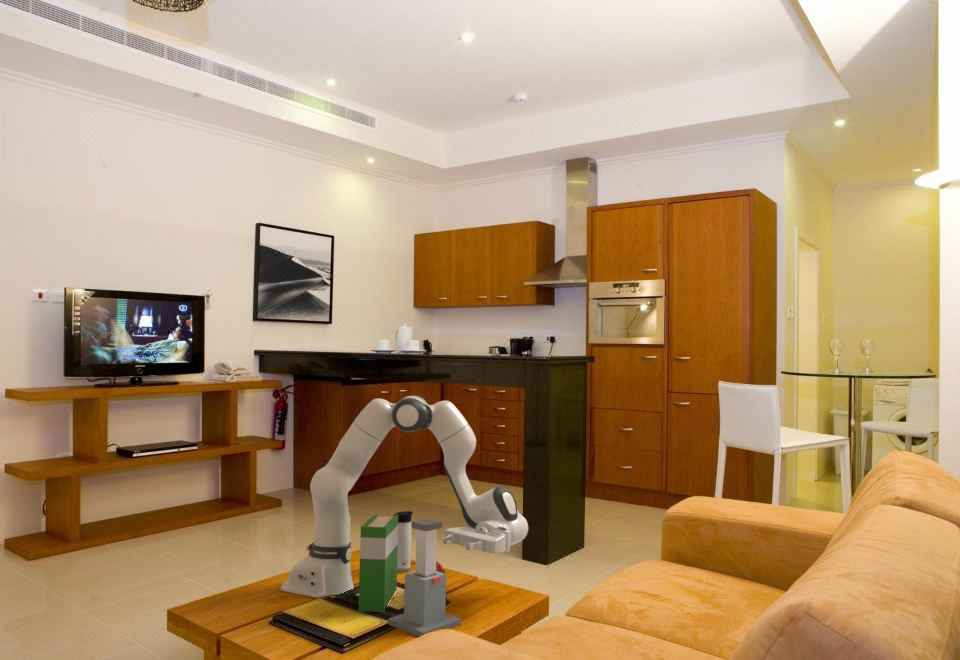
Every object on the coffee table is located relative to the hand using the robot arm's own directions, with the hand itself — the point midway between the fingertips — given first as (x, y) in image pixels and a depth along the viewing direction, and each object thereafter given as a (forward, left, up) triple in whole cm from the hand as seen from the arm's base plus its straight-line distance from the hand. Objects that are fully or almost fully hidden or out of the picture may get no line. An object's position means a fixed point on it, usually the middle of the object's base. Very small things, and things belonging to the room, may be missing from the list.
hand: (456, 544), depth 198 cm
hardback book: (-25, +2, -20) cm, 32 cm away
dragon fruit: (-15, +22, -20) cm, 33 cm away
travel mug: (-30, +35, -20) cm, 50 cm away
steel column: (-6, -11, -17) cm, 21 cm away
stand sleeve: (-6, -11, -20) cm, 23 cm away
